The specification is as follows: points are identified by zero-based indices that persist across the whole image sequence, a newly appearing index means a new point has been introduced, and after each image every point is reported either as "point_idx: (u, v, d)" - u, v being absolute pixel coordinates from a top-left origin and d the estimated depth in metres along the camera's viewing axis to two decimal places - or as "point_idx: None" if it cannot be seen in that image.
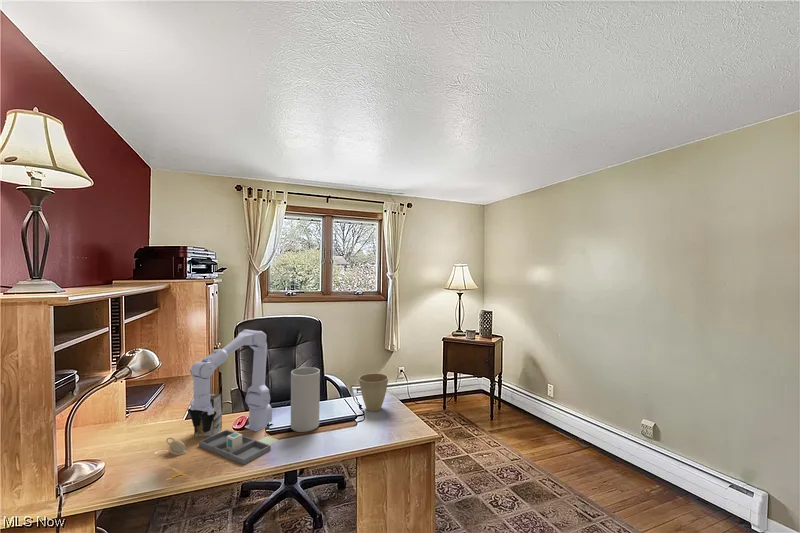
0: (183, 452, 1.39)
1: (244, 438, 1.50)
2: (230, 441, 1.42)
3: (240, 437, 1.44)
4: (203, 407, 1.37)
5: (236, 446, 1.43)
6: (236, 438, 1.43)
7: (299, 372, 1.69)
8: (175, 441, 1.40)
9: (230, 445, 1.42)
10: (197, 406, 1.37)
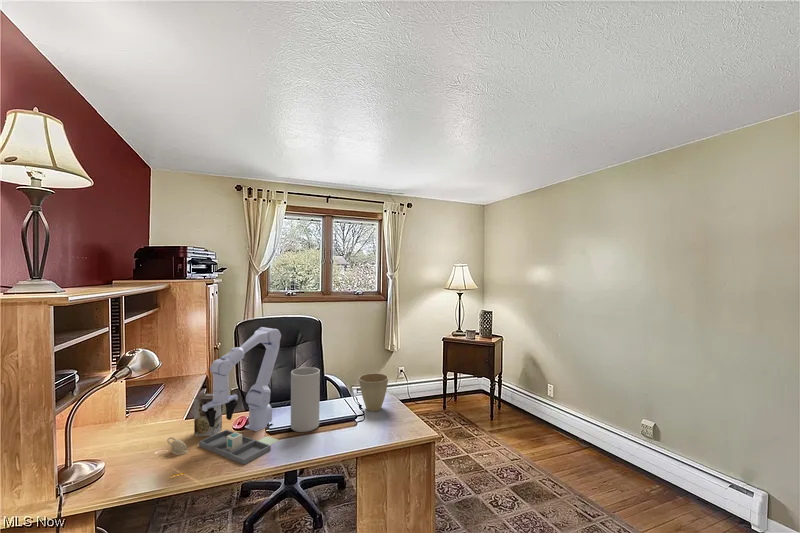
0: (184, 452, 1.40)
1: (244, 438, 1.50)
2: (230, 441, 1.42)
3: (240, 437, 1.44)
4: (212, 402, 1.46)
5: (236, 446, 1.43)
6: (236, 438, 1.43)
7: (299, 372, 1.69)
8: (176, 441, 1.40)
9: (230, 445, 1.42)
10: None
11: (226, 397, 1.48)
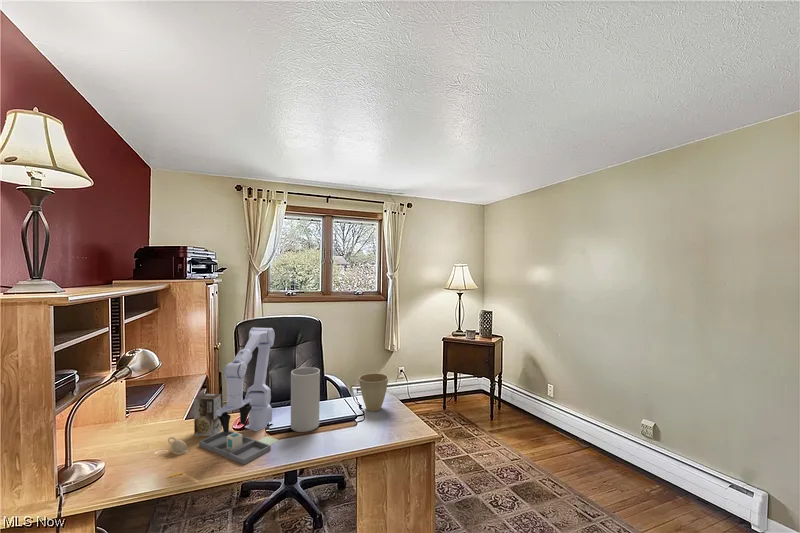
0: (184, 452, 1.40)
1: (244, 438, 1.50)
2: (230, 441, 1.42)
3: (240, 437, 1.44)
4: (226, 406, 1.42)
5: (236, 446, 1.43)
6: (236, 438, 1.43)
7: (299, 372, 1.69)
8: (176, 441, 1.40)
9: (230, 445, 1.42)
10: None
11: (240, 401, 1.43)
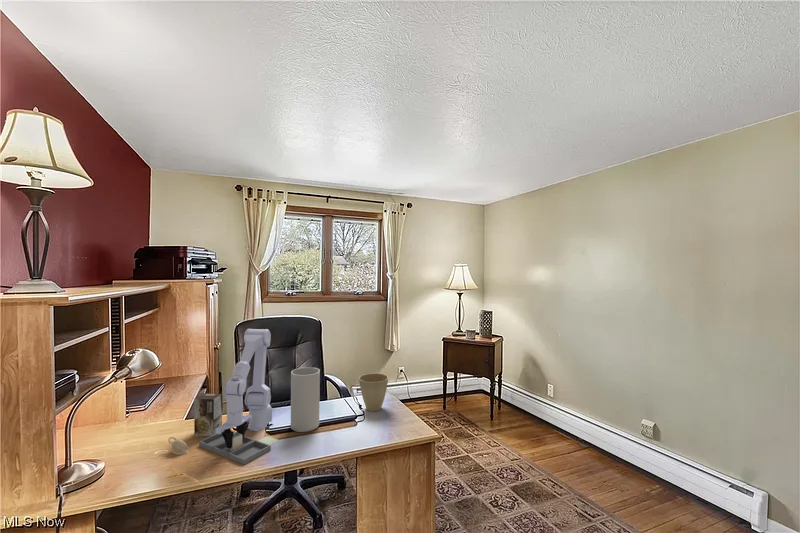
0: (184, 452, 1.40)
1: (244, 438, 1.50)
2: None
3: (240, 437, 1.44)
4: (226, 424, 1.42)
5: (236, 446, 1.43)
6: (236, 438, 1.43)
7: (299, 372, 1.69)
8: (177, 441, 1.40)
9: None
10: None
11: (240, 419, 1.43)
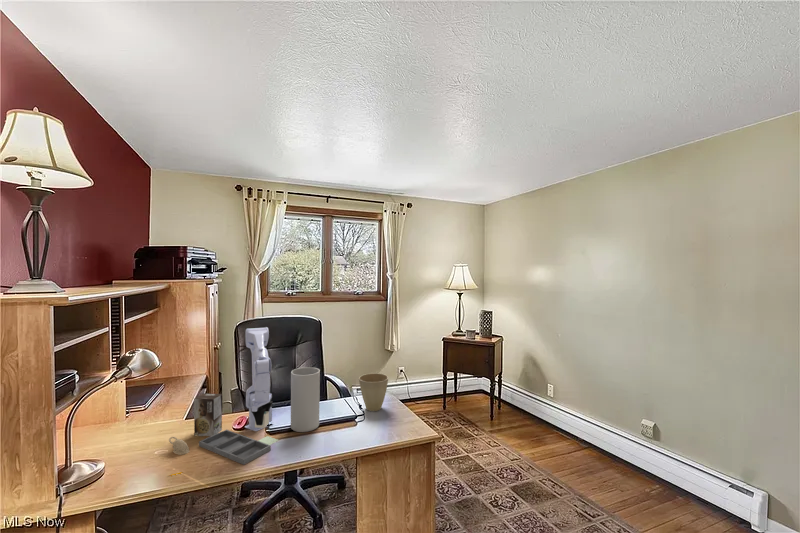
0: (185, 452, 1.40)
1: (244, 438, 1.50)
2: None
3: (268, 414, 1.50)
4: (257, 402, 1.46)
5: (266, 423, 1.48)
6: (266, 415, 1.48)
7: (299, 372, 1.69)
8: (177, 441, 1.40)
9: None
10: (254, 399, 1.47)
11: (269, 396, 1.49)
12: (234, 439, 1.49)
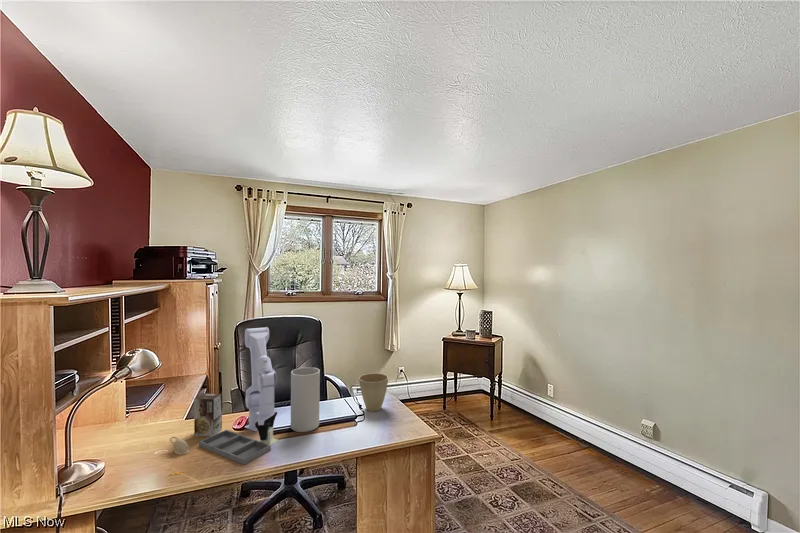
0: (186, 452, 1.40)
1: (244, 438, 1.50)
2: None
3: (272, 429, 1.51)
4: (262, 415, 1.47)
5: (271, 438, 1.49)
6: (271, 431, 1.49)
7: (299, 372, 1.69)
8: (178, 440, 1.40)
9: (266, 438, 1.48)
10: (259, 413, 1.48)
11: (273, 408, 1.50)
12: (234, 439, 1.49)
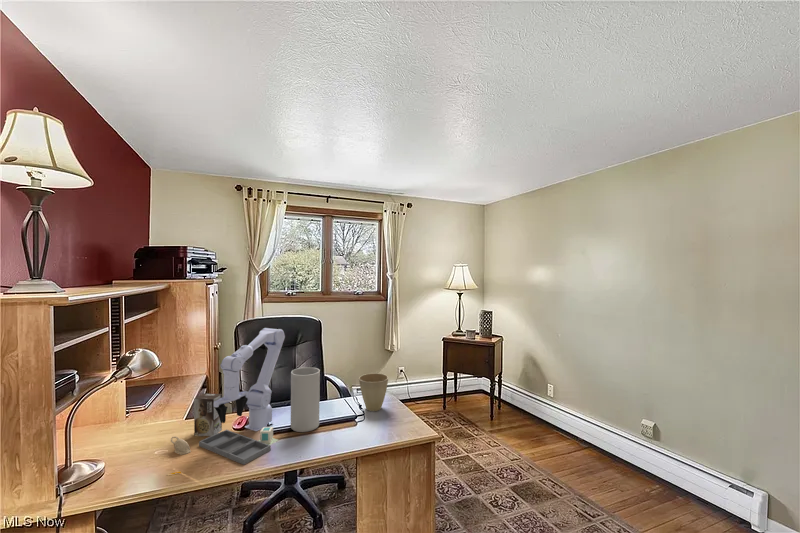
0: (186, 452, 1.40)
1: (244, 438, 1.50)
2: (266, 435, 1.48)
3: (272, 429, 1.51)
4: (223, 398, 1.48)
5: (271, 438, 1.49)
6: (271, 431, 1.49)
7: (299, 372, 1.69)
8: (179, 440, 1.40)
9: (266, 438, 1.48)
10: None
11: (237, 393, 1.49)
12: (234, 439, 1.49)
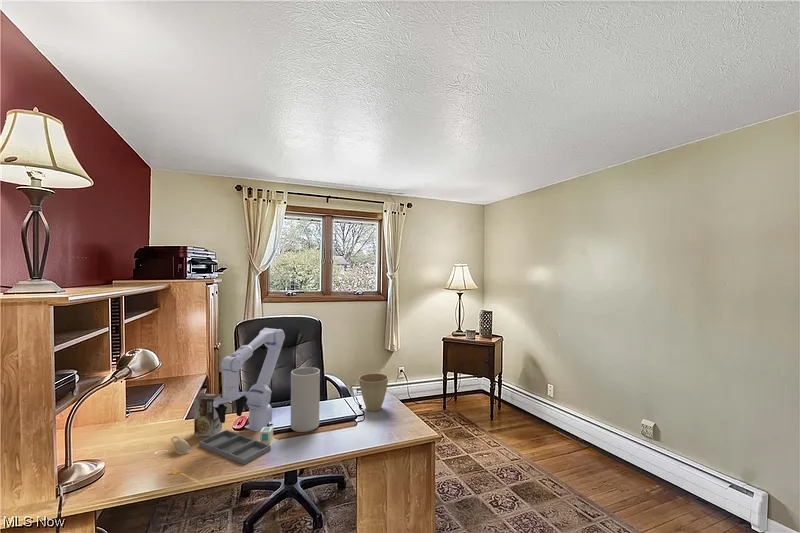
0: (187, 452, 1.40)
1: (244, 438, 1.50)
2: (266, 435, 1.48)
3: (272, 429, 1.51)
4: (223, 398, 1.48)
5: (271, 438, 1.49)
6: (271, 431, 1.49)
7: (299, 372, 1.69)
8: (179, 440, 1.40)
9: (266, 438, 1.48)
10: None
11: (236, 393, 1.49)
12: (234, 439, 1.49)
